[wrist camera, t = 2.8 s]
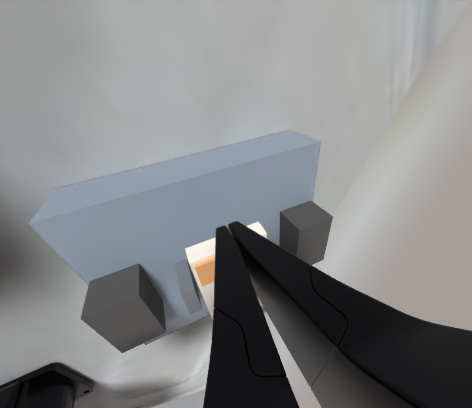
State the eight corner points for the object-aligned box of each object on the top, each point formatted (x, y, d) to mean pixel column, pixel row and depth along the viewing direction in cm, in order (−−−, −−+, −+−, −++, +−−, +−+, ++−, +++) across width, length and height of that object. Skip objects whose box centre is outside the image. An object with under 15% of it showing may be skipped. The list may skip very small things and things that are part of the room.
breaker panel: (284, 248, 20) (320, 291, 16) (144, 307, 17) (146, 380, 13) (289, 129, 13) (353, 153, 9) (54, 189, 10) (-4, 265, 6)
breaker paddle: (257, 295, 15) (263, 308, 14) (212, 316, 14) (217, 331, 13) (258, 221, 9) (268, 235, 9) (184, 248, 8) (190, 266, 8)
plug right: (305, 241, 16) (323, 259, 14) (279, 252, 15) (295, 272, 14) (310, 200, 13) (332, 216, 12) (279, 211, 13) (299, 230, 11)
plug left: (163, 301, 13) (166, 332, 11) (124, 318, 12) (122, 353, 11) (138, 263, 11) (138, 295, 9) (89, 281, 10) (80, 318, 8)
